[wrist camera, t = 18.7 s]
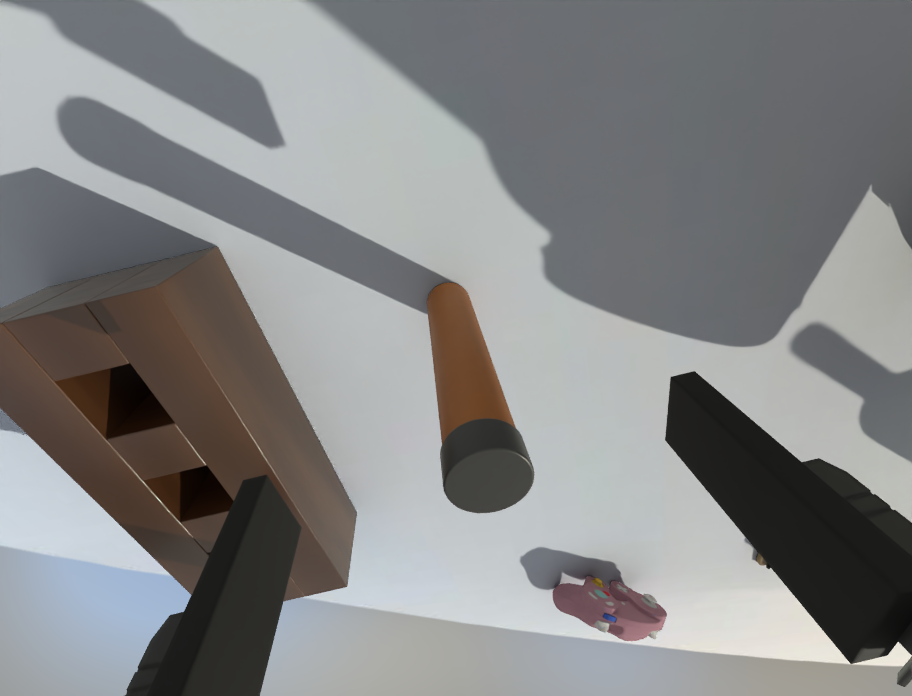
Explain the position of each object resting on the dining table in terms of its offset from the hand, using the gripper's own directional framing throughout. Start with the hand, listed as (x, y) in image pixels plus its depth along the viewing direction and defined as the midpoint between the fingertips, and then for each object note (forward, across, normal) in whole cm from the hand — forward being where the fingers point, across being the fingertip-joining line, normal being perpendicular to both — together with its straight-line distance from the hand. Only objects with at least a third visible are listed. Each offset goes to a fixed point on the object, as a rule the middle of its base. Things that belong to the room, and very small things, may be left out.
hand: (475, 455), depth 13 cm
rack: (+13, -16, -5) cm, 21 cm away
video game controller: (+13, +9, -35) cm, 38 cm away
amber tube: (+13, 0, 0) cm, 13 cm away
